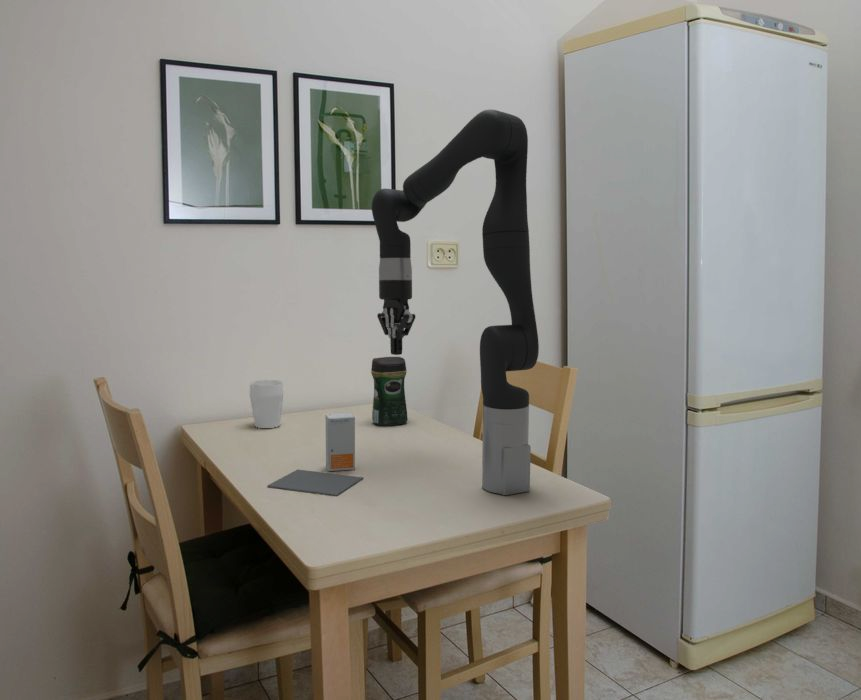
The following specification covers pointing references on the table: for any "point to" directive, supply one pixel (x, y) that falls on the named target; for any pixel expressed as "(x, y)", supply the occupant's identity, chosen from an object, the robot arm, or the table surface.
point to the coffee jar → (389, 391)
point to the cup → (266, 402)
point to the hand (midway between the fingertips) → (396, 354)
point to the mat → (316, 482)
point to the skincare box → (340, 442)
